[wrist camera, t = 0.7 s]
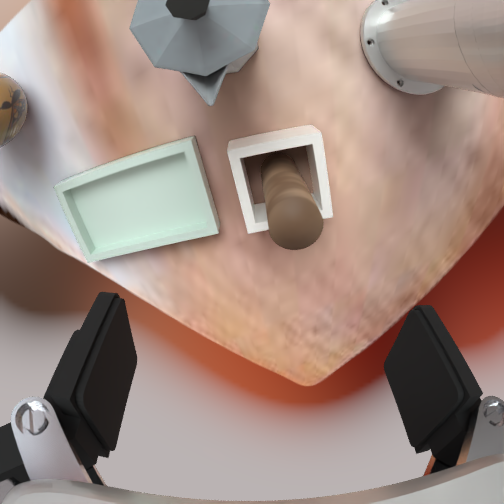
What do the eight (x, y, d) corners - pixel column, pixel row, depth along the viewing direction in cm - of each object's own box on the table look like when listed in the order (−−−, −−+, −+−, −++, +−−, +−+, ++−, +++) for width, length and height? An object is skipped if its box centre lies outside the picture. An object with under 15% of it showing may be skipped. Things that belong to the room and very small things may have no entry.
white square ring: (311, 124, 32) (321, 132, 28) (322, 198, 37) (333, 216, 33) (229, 140, 33) (226, 150, 29) (247, 213, 38) (248, 233, 33)
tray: (194, 135, 33) (191, 139, 31) (220, 223, 38) (218, 233, 36) (63, 179, 35) (53, 186, 32) (94, 252, 40) (88, 262, 38)
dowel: (292, 149, 34) (319, 195, 22) (298, 183, 36) (326, 244, 24) (257, 156, 34) (263, 206, 22) (264, 189, 36) (274, 254, 24)
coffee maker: (266, 89, 30) (288, 102, 15) (183, 101, 31) (123, 128, 15) (250, -35, 23) (255, -121, 7) (167, -21, 23) (101, -88, 8)
